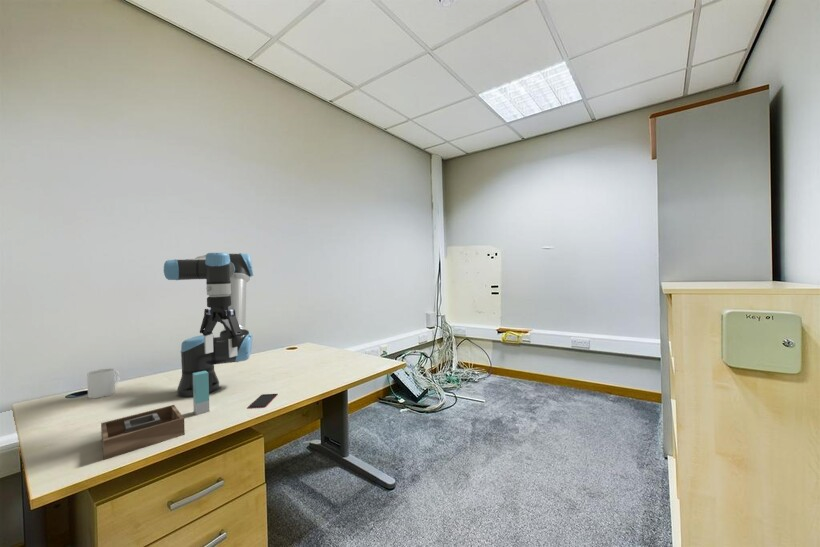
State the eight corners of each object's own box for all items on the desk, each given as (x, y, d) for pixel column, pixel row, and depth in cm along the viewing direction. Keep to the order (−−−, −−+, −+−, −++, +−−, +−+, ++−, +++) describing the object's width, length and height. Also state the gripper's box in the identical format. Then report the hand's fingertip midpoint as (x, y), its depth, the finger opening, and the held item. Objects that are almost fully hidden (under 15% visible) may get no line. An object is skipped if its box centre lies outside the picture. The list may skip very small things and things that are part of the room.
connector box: (101, 439, 97) (101, 423, 97) (174, 419, 110) (174, 404, 110) (103, 459, 86) (103, 441, 86) (184, 434, 99) (184, 418, 99)
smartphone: (279, 393, 132) (265, 407, 118) (279, 394, 132) (265, 408, 118) (261, 394, 131) (245, 408, 117) (261, 395, 131) (245, 409, 117)
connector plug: (193, 412, 116) (192, 373, 116) (206, 408, 119) (205, 370, 119) (196, 415, 113) (195, 375, 113) (209, 411, 116) (208, 372, 116)
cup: (82, 398, 133) (81, 374, 133) (110, 388, 145) (110, 366, 145) (101, 398, 132) (100, 374, 133) (128, 388, 144) (127, 365, 144)
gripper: (187, 296, 118) (189, 353, 118) (231, 297, 107) (234, 361, 107) (207, 294, 124) (209, 348, 125) (251, 295, 113) (253, 355, 114)
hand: (220, 354), depth 116 cm, fingers open, 13 cm apart
